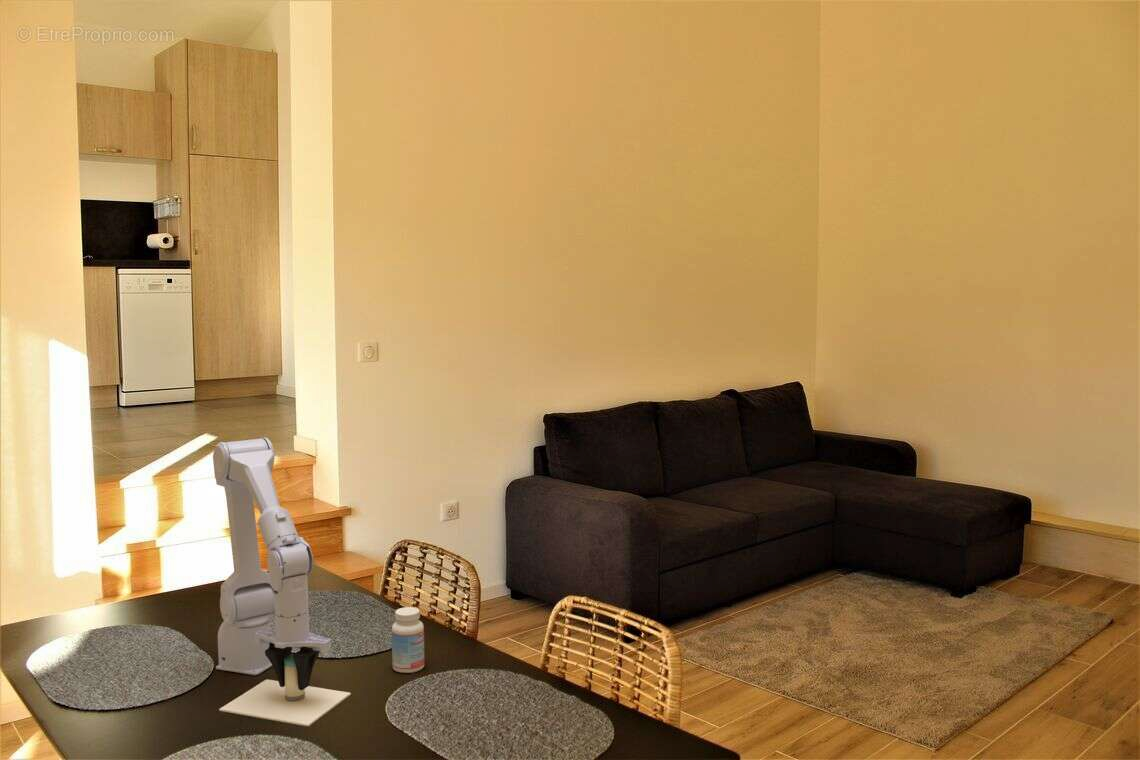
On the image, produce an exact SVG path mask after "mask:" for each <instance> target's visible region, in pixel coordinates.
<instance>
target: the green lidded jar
mask: <svg viewBox="0 0 1140 760" xmlns="http://www.w3.org/2000/svg"><path fill="white" fill-rule="evenodd" d="M293 654H294V653H293ZM293 654H292V653H291V655H288V656H286V657H285V658H284V667H285V699H286V700H288V701H298V700H301V699H303V698H304V697H305V689H304V690H299V688H298V678H297V669H296V665H295V662H294V659H293V656H292V655H293Z"/></svg>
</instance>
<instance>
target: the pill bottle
mask: <svg viewBox="0 0 1140 760" xmlns="http://www.w3.org/2000/svg"><path fill="white" fill-rule="evenodd" d="M420 612H421V611H420V609H419V608H417V607H413V606H405V607H401V608H397V609H396V610H395V613H394V618H395V620H396V621H395V622H394V623H393V624H392V625H391V655H392V657H391V659H392V664H391V665H392V669H393V670H394V671H395V672H396V673H403V674H404V673H407V674H408V673H409V674H411V673H416V672H419V671H421V670H422V669H423V668H424V667H425V628H424V623H423V622H422V621H421V620H419V619H420V617H421V613H420Z"/></svg>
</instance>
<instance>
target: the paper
mask: <svg viewBox="0 0 1140 760" xmlns="http://www.w3.org/2000/svg"><path fill="white" fill-rule="evenodd" d="M351 695H352V693H351V692H349V691H341V690H334V689H329V688H324V687H317V686H312V685H311V686H310V685H309V686H308V687H306V688H305V697H304V698H303V699H301V700H298V701H288V700H286V699H285V686H284V687H280V685H279V682H278V680H273V679H265V680H263V681H261V682H259V684H257V685H255V686H254V687H252V688H250V689H249V690H246V692H244V693H243V694H241V695H239V696H238V697H236V698H235V699H233V700H232V701H230V702H228V703H227V704H225V705H224V706H221V707H220V708H219V709H218V710H219V712H223V713H231V714H237V715H242V716H249V717H253V718H258V719H264V720H268V721H269V720H270V721H274V722H275V721H276V722H281V723H287V724H293V725H298V726H304V727H310V726H311V725H312V724H314V723H315V722H316V721H317V720H319V719H320V718H322V717H323V716H324V715H326V714H327V713H328V712H329V711H331V710H332V709H334V708H335V707H336V706H337V705H339V704H340V703H342V702H343V701H344V700H345V699H347V698H348V697H350V696H351Z"/></svg>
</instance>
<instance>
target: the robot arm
mask: <svg viewBox="0 0 1140 760" xmlns="http://www.w3.org/2000/svg"><path fill="white" fill-rule="evenodd" d="M214 447H215V448H214V450H213V454H212V462H213V472H214V479H215V483H216V485H217V486H220V487H223V488H224V492H225V498H226V507H227V517H228V526H229V528H228V529H229V534H230V535H229V536H230V537H229V538H230V544H231V553H232V554H231V555H232V563H233V572H232V573H231V574H230V575H229V576H228V577H227V578H226V579H225V580H224V582H222V583H221V585H220V598H219V609H220V613H221V618H222V619H223V621H222V623H221V625H219V628H218V631H217V650H218V651H217V653H218V655H217V656H218V665H216V666H215V669H216V670H220V671H227V672H234V673H239V674H244V675H251V676H257V675H259V674H261V673H263V672H264V671H266V670H267V669H270V668H271V667H272V668H273V670H274V673H275V675H276V678H277V681H278V682H279V685H280V687H284V686H285V667H284V658H285V657H286V656H288V655H292V653H293V652H292V651H293V648H295V649H299V650H297V651H296V652H294V653H293V655H292V656H293V659H294V662H295V665H296V669H297V678H298V688H299V690H304V689H305V688H306V687H308V686H310V682H311V681H310V680H311V676H312V672H313V668H314V666H315V663H316V661H317V659H318V656H319V655H320V653H321V654H324V655H325V654H327V653H329V652H330V651H332V639H331V638H327V637H324V636H321V635H318V634H316V633H312V632H310V615H309V614H310V612H309V611H310V610H309V587H308V586H309V585H308V584H309V583H308V575H310V574H311V573H312V572H313V569H314V555H313V552H312V549H311V546H310V545H309V543H308V542H307V541H305V539H304V537H303V536H300V535H299V534H298V532H297V529H296V527H295V524H294V521H293V518H292V516H291V513H290V511H289V510H288V509H287V508H284V507H281V505H280V501H279V498H278V494H277V490H276V486H275V484H274V480H273V476H272V472H273V469H274V465H275V464H274V463H275V459H276V458H275V456H276V455H275V449H274V445H273V444H272V441H271V440H270V439H269V438H267V437H260V438H253V439H246V440H235V441H227V442H225V441H220V442H218V443H217V444H216V445H215V446H214ZM255 505H256V507H257V509H258V511H259V513H260V516H259V518H258V520H257V519H256V513H255V512H256V511H255ZM256 520H257V522H256ZM257 526H258V528H259V532H260V535H261V537H262V539H263V542H264V545H265V548H266V550H267V553H268V554H267V559H266V565H267V571H266V570H264V569H262V567H261V558H260V548H259V540H258V538H259V537H258V531H257ZM273 620H274V624H275V625H274V626H275V628H274V629H271V628H272V627H271V621H273Z"/></svg>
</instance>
